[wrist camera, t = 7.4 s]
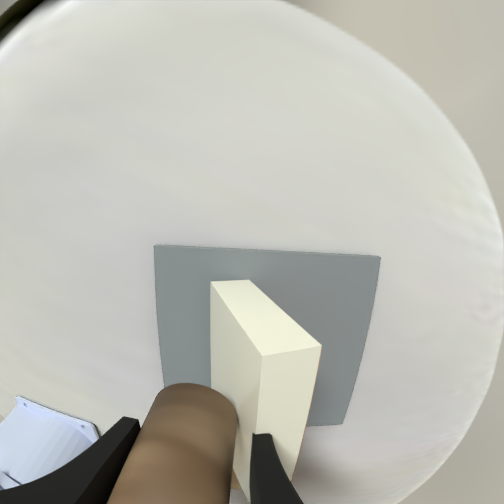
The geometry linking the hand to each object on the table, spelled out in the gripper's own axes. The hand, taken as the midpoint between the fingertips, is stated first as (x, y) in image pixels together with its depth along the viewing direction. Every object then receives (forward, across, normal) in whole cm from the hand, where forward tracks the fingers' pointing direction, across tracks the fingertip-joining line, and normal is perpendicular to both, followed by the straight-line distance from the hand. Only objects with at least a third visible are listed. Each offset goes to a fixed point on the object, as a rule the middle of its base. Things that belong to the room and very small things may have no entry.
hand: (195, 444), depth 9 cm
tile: (+7, -1, 0) cm, 7 cm away
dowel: (+2, 0, 0) cm, 2 cm away
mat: (+8, -3, 0) cm, 8 cm away
